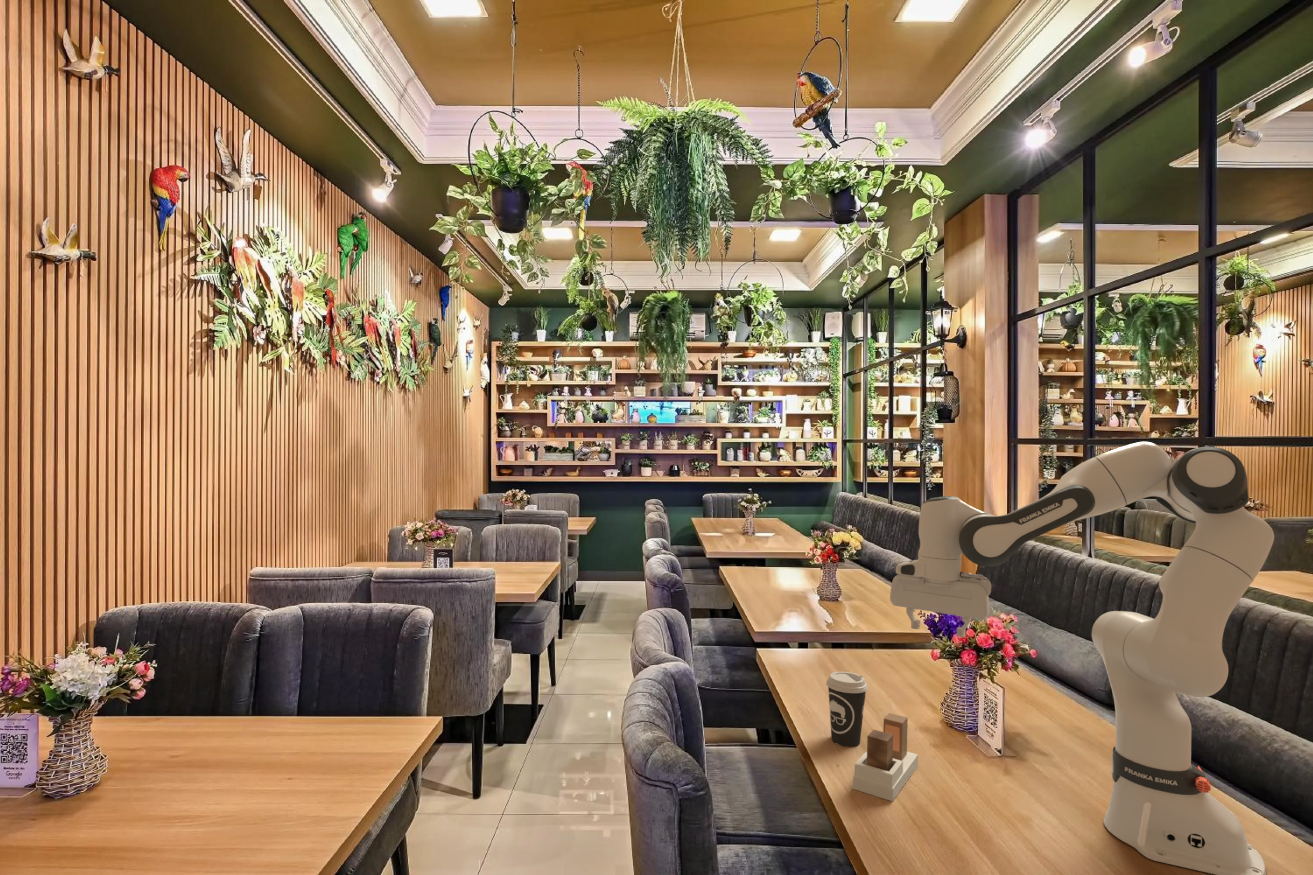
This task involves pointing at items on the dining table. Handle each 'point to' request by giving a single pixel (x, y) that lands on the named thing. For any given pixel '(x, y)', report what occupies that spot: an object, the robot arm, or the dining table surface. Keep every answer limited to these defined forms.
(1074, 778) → the dining table surface
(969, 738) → the dining table surface
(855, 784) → the block holder
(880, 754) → the stacked taupe block
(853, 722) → the coffee cup
